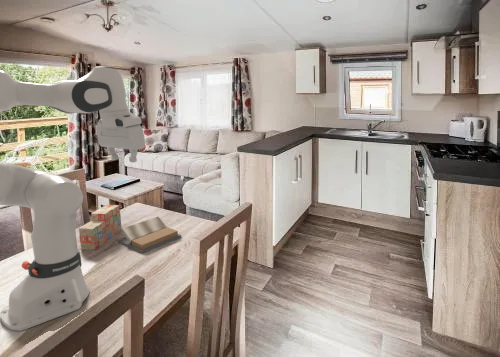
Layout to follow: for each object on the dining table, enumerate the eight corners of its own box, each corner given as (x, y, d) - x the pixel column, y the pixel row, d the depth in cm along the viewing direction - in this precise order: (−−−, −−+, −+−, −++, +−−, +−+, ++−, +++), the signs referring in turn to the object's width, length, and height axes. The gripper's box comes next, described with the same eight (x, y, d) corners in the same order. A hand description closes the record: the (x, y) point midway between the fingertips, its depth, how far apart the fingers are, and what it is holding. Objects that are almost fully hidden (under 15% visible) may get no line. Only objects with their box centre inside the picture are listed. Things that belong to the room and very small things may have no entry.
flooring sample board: (141, 253, 128) (141, 246, 128) (118, 242, 138) (117, 235, 138) (181, 237, 144) (180, 230, 143) (157, 228, 154) (156, 222, 153)
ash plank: (130, 242, 134) (131, 240, 133) (121, 231, 137) (122, 228, 136) (165, 229, 148) (167, 226, 147) (157, 219, 151) (158, 216, 150)
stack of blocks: (95, 250, 131) (91, 221, 128) (80, 249, 132) (77, 221, 129) (122, 230, 152) (119, 204, 149) (109, 229, 153) (106, 204, 150)
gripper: (88, 120, 108) (97, 160, 113) (127, 121, 98) (136, 166, 102) (105, 117, 113) (113, 155, 118) (144, 118, 103) (152, 160, 107)
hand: (124, 160), depth 110 cm, fingers open, 8 cm apart
